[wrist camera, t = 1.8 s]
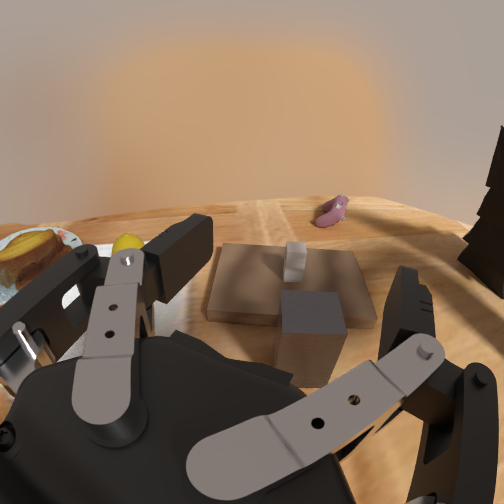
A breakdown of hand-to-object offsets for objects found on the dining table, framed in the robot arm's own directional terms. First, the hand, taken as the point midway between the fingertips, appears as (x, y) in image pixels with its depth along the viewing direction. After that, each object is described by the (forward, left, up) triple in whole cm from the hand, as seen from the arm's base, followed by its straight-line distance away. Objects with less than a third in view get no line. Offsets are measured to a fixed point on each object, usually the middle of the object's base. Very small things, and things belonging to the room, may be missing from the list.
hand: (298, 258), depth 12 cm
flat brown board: (-17, -18, -22) cm, 33 cm away
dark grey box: (-9, -6, -22) cm, 24 cm away
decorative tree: (-52, +1, -22) cm, 56 cm away
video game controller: (-39, -32, -22) cm, 55 cm away
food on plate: (+23, -44, -22) cm, 55 cm away
